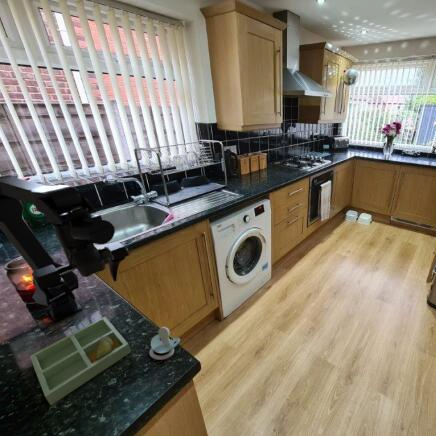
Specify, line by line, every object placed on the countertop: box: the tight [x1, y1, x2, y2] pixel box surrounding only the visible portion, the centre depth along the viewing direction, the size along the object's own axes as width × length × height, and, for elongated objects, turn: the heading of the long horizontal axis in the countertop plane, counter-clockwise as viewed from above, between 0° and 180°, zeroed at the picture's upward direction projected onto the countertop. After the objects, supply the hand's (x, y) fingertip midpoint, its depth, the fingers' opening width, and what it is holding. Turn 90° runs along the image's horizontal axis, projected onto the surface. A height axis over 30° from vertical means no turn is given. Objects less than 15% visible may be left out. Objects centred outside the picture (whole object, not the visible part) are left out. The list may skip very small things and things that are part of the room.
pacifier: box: [148, 326, 181, 361], centre depth 61 cm, size 7×6×6 cm
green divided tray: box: [29, 316, 132, 406], centre depth 60 cm, size 15×15×3 cm
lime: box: [95, 336, 113, 360], centre depth 59 cm, size 4×5×5 cm
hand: (95, 289), depth 66 cm, fingers open, 9 cm apart
